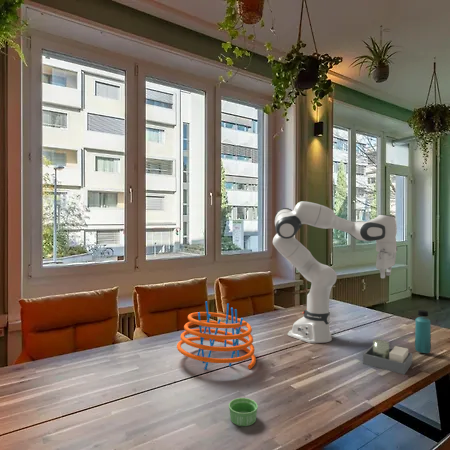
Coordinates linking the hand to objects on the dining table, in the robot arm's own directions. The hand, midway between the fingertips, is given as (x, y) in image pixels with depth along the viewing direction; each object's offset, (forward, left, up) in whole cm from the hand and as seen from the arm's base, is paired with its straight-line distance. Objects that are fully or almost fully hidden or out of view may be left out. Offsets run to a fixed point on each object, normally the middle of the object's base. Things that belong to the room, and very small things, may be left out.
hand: (385, 276), depth 168 cm
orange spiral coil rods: (-52, -64, -34) cm, 90 cm away
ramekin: (-17, -93, -34) cm, 101 cm away
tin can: (+4, -22, -33) cm, 40 cm away
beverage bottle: (+16, +2, -34) cm, 38 cm away
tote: (+7, -22, -34) cm, 41 cm away
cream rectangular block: (+11, -22, -33) cm, 41 cm away
